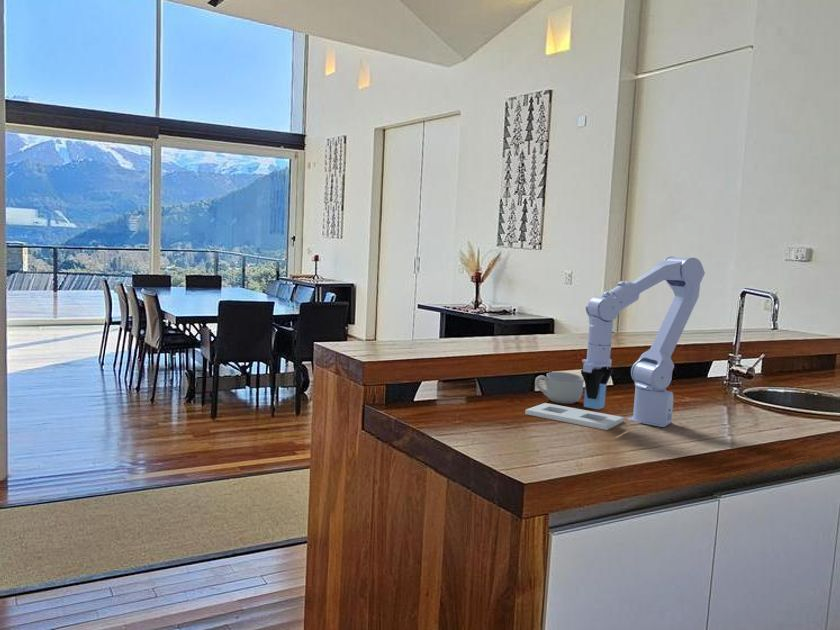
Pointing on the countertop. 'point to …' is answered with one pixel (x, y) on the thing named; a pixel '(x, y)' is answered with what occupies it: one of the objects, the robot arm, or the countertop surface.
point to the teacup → (562, 387)
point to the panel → (575, 416)
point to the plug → (600, 399)
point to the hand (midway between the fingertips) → (595, 397)
